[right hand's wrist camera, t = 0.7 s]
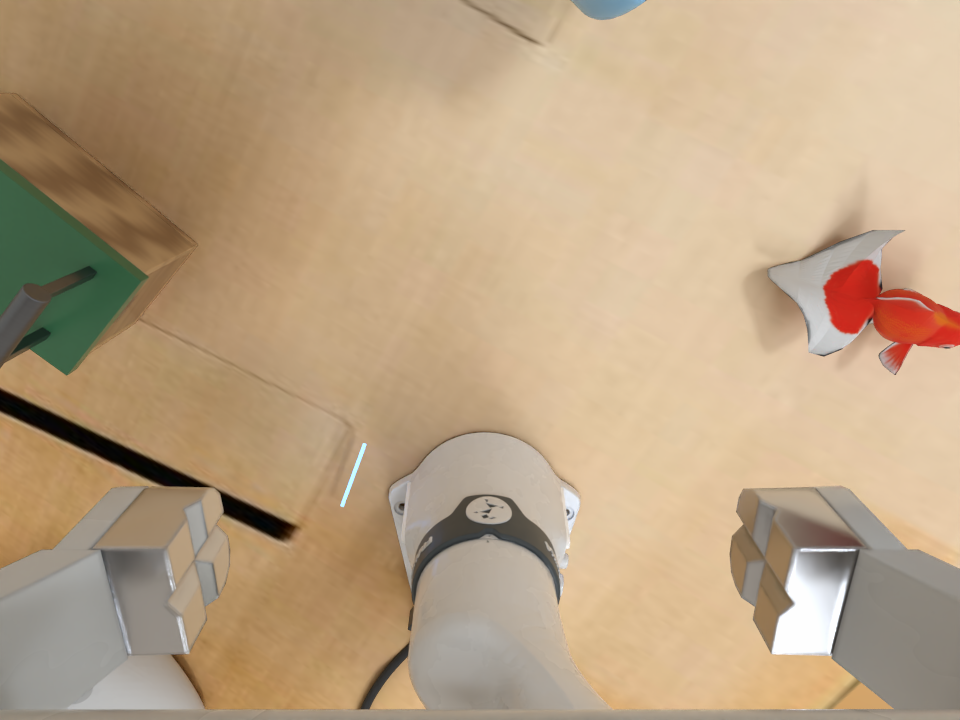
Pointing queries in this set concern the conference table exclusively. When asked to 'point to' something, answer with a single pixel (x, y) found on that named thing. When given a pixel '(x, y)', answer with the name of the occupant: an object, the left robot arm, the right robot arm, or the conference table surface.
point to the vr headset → (143, 687)
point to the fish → (862, 301)
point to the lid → (55, 278)
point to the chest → (93, 201)
